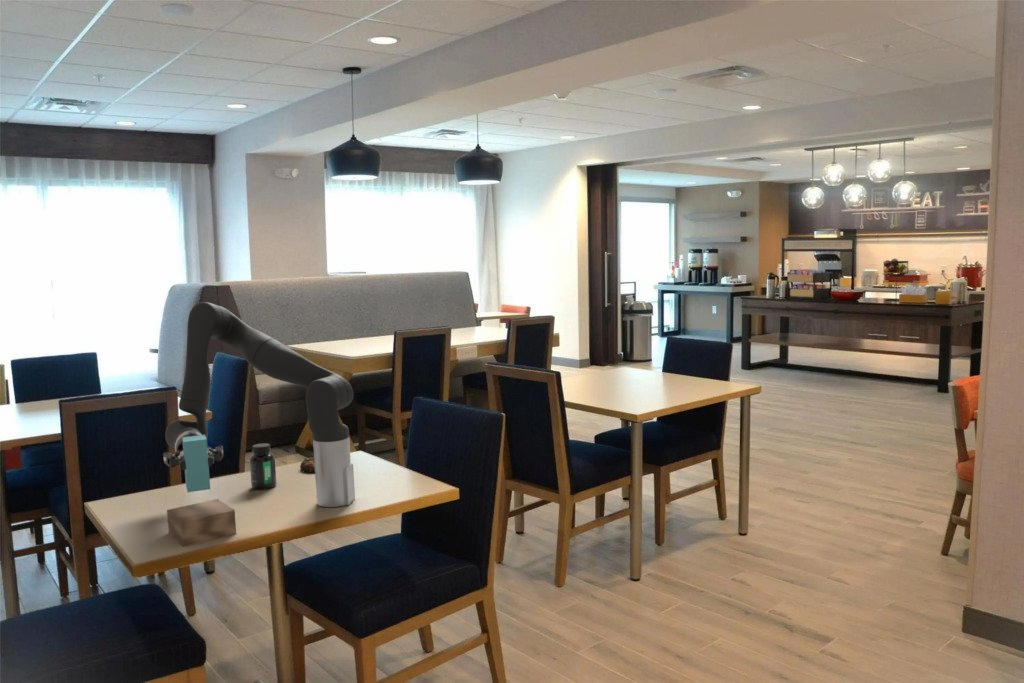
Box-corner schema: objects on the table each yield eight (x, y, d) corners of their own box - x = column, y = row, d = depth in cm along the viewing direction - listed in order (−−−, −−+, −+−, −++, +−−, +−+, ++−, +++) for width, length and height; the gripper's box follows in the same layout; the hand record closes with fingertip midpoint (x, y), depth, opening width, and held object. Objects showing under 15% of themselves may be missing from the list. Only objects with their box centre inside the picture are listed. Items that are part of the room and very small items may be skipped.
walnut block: (219, 522, 199) (217, 498, 199) (236, 534, 190) (234, 510, 189) (168, 534, 192) (166, 509, 191) (183, 547, 183) (181, 522, 182)
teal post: (208, 483, 193) (204, 434, 192) (210, 489, 189) (206, 439, 187) (186, 486, 191) (182, 437, 189) (187, 492, 186) (183, 441, 185)
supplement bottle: (274, 489, 225) (271, 447, 224) (249, 490, 224) (246, 448, 223) (278, 482, 232) (275, 441, 230) (253, 484, 231) (251, 443, 230)
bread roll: (292, 472, 242) (293, 455, 242) (313, 467, 253) (314, 451, 253) (323, 476, 238) (324, 459, 238) (344, 471, 249) (345, 454, 249)
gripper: (159, 436, 198) (162, 452, 183) (220, 429, 204) (228, 444, 189) (161, 466, 199) (164, 484, 184) (222, 458, 205) (230, 474, 190)
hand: (197, 463), depth 187 cm, fingers closed on teal post, 5 cm apart
